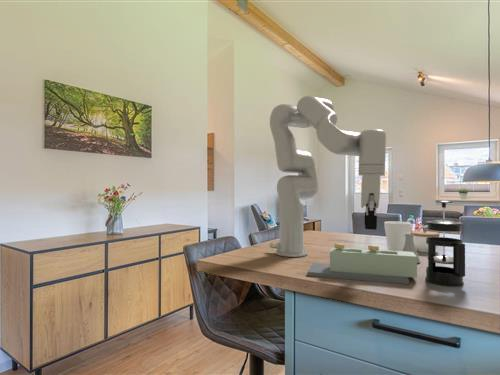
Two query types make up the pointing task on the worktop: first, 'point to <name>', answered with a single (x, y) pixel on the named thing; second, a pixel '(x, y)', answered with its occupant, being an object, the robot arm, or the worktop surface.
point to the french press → (440, 273)
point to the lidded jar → (422, 239)
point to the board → (324, 271)
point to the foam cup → (396, 234)
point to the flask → (410, 245)
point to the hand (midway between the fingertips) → (370, 226)
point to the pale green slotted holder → (374, 262)
